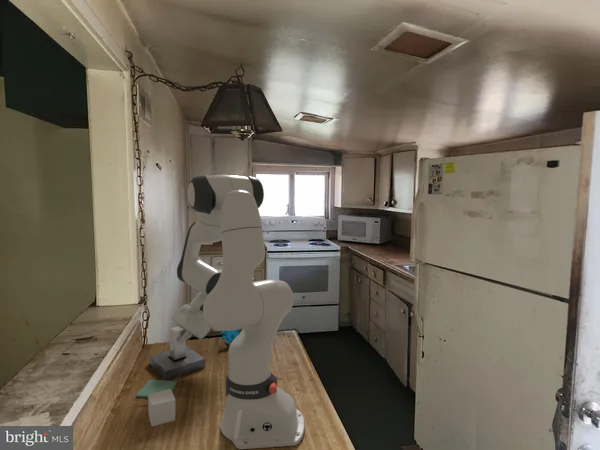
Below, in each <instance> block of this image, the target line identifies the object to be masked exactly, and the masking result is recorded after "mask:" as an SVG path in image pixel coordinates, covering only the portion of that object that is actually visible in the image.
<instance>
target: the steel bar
mask: <svg viewBox="0 0 600 450" xmlns="http://www.w3.org/2000/svg"><path fill="white" fill-rule="evenodd" d="M186 331H187V330H186V329H184V328H183V327H181V326H178V327H176V326H175V327H170V328H169V351H170V356H171V357H172V358H173V359H175V360H176V359H179V358H182V357H186V346H187V343H186V342H187V340H186V341H185V342H184V343H183V344H180V343H179V342H178V339H179V338H180V337H182V336H183V335H185V334H186V333H185V332H186Z"/></svg>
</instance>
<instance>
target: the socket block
mask: <svg viewBox="0 0 600 450" xmlns="http://www.w3.org/2000/svg"><path fill="white" fill-rule="evenodd" d="M205 360H206V359H205V358H204V357H203V356H201V354H199V353H197V352H196V351H195V350H193V349H192V348H191V347H189V346H188V345H186V357H182V358H179V359H176V360H175V359H173V358H172V357H171V356H170V350H166V351H164V352H163V351H162V352H160V353H155V354H152V355H150V356H149V365H150V366H151V367H152V368H153V369H154V370H155V371H156V372H157V373H158V374H160V376H162V377H163V378H164V380H165V381H168V380H169V379H173V378H176V377H178V376H179V377H180V376H181V375H185V374H187V373H191V372H193V371H196V370H200V369H203V368H205V365H206V363H205V362H206V361H205Z"/></svg>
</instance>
